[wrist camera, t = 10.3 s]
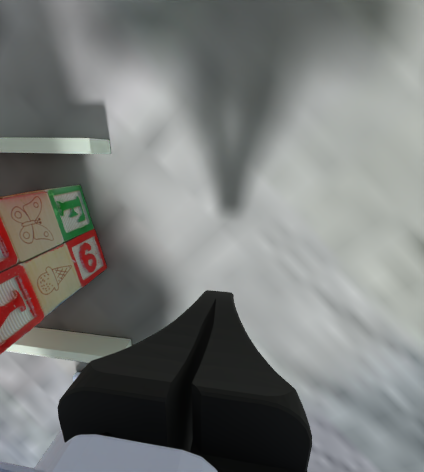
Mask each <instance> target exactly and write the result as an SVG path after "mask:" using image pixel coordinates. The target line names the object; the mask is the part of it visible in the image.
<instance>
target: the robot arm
mask: <svg viewBox="0 0 424 472" xmlns="http://www.w3.org/2000/svg"><path fill="white" fill-rule="evenodd" d="M58 416H59V421H60V425H61V430H60V432H59V433H58V435H57V436H56V438H55V439H54V440H53V442H52V443H51V445H50V446H49V448H48V449H47V451H46V452H45V454H44V455H43V456H42V458H41V459H40V461H39V462H38V464H37V465H36V467H35V468H29V467H24V466H19V465H15V464H10V463H5V462H0V472H307V467H308V462H309V457H310V452H311V447H312V435H311V430H310V426H309V423H308V420H307V417H306V414H305V411H304V408H303V406H302V403H301V401H300V399H299V396H298V394H297V392H296V390H295V389H294V388H293V387H292V386H291V385H290V384H289V383H288V382H286V381H285V380H284V379H283V378H282V377H281V376H280V375H278V374H277V373H276V372H275V371H274V369H273V368H272V367H271V366H270V365H269V364H268V363H267V361H266V360H265V359H264V358H263V357H262V355H261V354H260V353H259V352H258V350H257V349H256V347H255V346H254V344H253V343H252V341H251V340H250V338H249V337H248V335H247V333H246V331H245V329H244V327H243V325H242V323H241V321H240V319H239V316H238V313H237V311H236V308H235V304H234V299H233V294H232V293H230V292H219V291H208V290H207V291H205V292H204V293H203V294H202V295H201V296H200V298H199V299H198V300H197V301H196V302H195V303H194V304H193V305H192V306H191V307H190V308H189V309H187V310H186V311H185V312H184V313H183V314H182V315H181V316H179V317H178V318H177V319H176V320H175V321H173V322H172V323H171V324H169V325H168V326H167V327H165V328H164V329H162V330H161V331H159V332H157V333H156V334H154V335H152V336H150V337H148V338H146V339H145V340H143V341H141V342H139V343H137V344H135V345H132V346H130V347H128V348H126V349H123V350H121V351H118V352H116V353H113V354H110V355H107V356H104V357H101V358H98V359H95V360H92V361H90V363H89V364H88V365H87V366H86V367H85V368H84V369H83V370H82V372H77V373H75V375H74V376H73V383H72V385H71V386H70V387H69V389H68V390H67V391H66V392H65V394H64V395H63V396H62V398H61V399H60V401H59V405H58Z"/></svg>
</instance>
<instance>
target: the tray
mask: <svg viewBox="0 0 424 472" xmlns="http://www.w3.org/2000/svg"><path fill="white" fill-rule="evenodd" d="M0 152H7V153H64V154H111V150H110V141H109V140H105V139H94V138H11V137H0ZM130 346H132V343H131V339H125V338H117V337H109V336H101V335H94V334H86V333H78V332H70V331H62V330H54V329H46V328H38V327H33V328H32V329H31V330H30V331H29V332H28V333H26V334H25V335H24V336H23V337H22V338H20V339H19V340H18V341H16V342H15V343H14V344H13V345H12V346H10V347H9V348H8V349H7V350H5V351H9V352H16V353H23V354H30V355H37V356H44V357H51V358H58V359H65V360H72V361H79V362H86V363H90V361H92V360H95V359H98V358H101V357H104V356H107V355H110V354H113V353H116V352H118V351H121V350H123V349H126V348H128V347H130Z"/></svg>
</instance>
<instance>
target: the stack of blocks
mask: <svg viewBox="0 0 424 472" xmlns="http://www.w3.org/2000/svg"><path fill="white" fill-rule="evenodd" d="M106 268H107V265H106V262H105V259H104V256H103V253H102V250H101V247H100V244H99V240H98V237H97V234H96V231H95V229H94V227H93V224H92V221H91V217H90V214H89V211H88V208H87V205H86V201H85V198H84V195H83V192H82V188H81V186H80V185H73V186H66V187H59V188H52V189H45V190H37V191H31V192H26V193H20V194H14V195H9V196H3V197H0V354H1V353H3V352H4V351H5V350H7V349H8V348H9V347H10V346H12V345H13V344H14V343H15V342H16V341H18V340H19V339H20V338H22V337H23V336H24V335H25V334H26V333H28V332H29V331H30V330H31V329H32V328H33V327H35V326H36V325H37V324H39V323H40V322H41V321H42V320H43V319H44V317H45V316H47V315H48V314H50V313H51V312H52V311H53V310H54V309H56V308H57V307H58V306H59V305H60V304H61V303H63V302H64V301H65V300H67V299H68V298H69V297H70V296H72V295H73V294H74V293H75V292H77V291H78V290H79V289H81V288H83V287H84V286H85V285H87V284H88V283H89V282H90V281H92V280H93V279H94V278H95V277H96V276H98V275H99V274H100V273H102V272H103V271H104V270H106Z"/></svg>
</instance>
